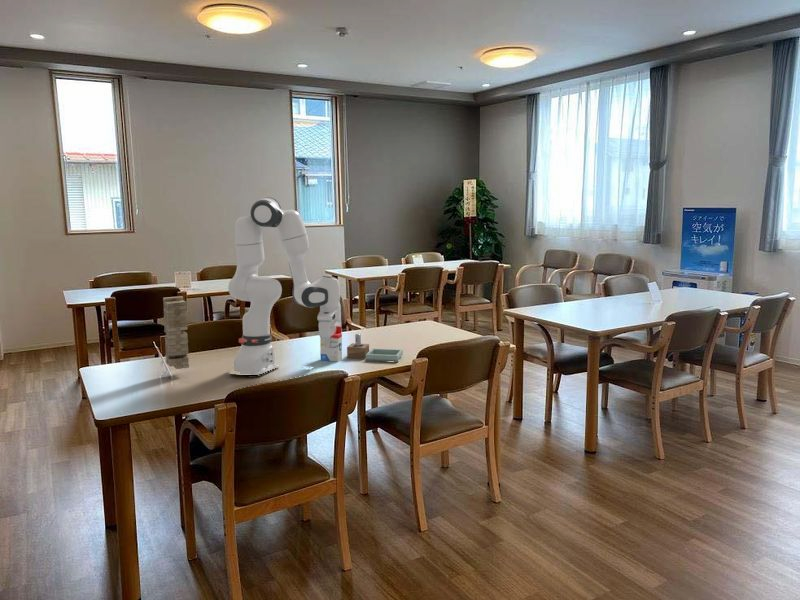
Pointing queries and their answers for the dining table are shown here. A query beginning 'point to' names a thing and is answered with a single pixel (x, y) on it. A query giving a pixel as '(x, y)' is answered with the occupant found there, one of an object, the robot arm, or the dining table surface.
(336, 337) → the ink box
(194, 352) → the dining table surface
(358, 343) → the pin gauge
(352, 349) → the brown wooden box
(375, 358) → the tray
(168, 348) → the tower
